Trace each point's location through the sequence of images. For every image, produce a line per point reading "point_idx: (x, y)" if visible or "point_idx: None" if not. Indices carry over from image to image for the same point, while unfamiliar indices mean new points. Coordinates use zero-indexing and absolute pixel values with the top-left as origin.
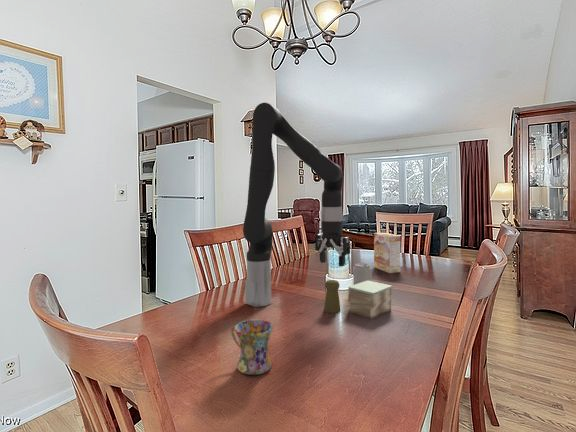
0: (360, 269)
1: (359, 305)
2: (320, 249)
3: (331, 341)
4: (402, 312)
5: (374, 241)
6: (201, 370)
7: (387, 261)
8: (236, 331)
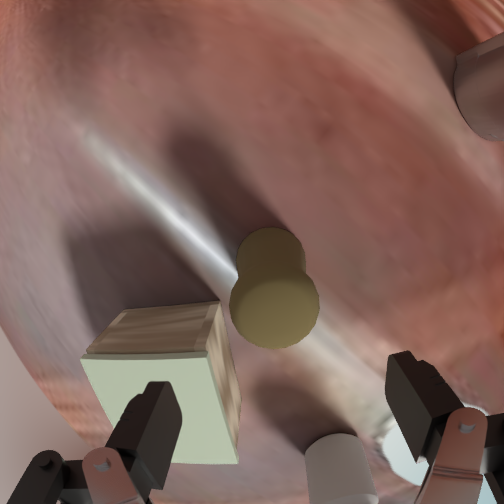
0: (335, 502)
1: (160, 321)
2: (470, 441)
3: (77, 88)
4: None
5: None
6: None
7: None
8: None
